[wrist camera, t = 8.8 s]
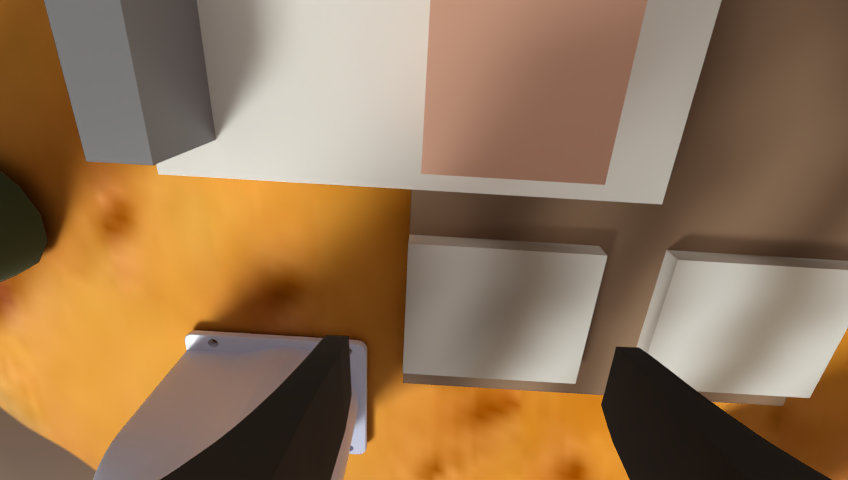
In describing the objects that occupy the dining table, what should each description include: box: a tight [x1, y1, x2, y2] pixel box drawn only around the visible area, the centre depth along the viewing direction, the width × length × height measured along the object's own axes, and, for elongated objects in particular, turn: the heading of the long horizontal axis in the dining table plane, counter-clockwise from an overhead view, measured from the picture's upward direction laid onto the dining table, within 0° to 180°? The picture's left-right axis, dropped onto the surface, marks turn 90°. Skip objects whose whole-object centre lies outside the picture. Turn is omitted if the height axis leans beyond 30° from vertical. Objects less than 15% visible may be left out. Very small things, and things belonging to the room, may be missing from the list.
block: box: [421, 0, 648, 185], centre depth 13 cm, size 5×5×5 cm
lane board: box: [403, 0, 848, 406], centre depth 18 cm, size 20×21×2 cm
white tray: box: [44, 0, 722, 204], centre depth 14 cm, size 20×9×5 cm, turn 87°
